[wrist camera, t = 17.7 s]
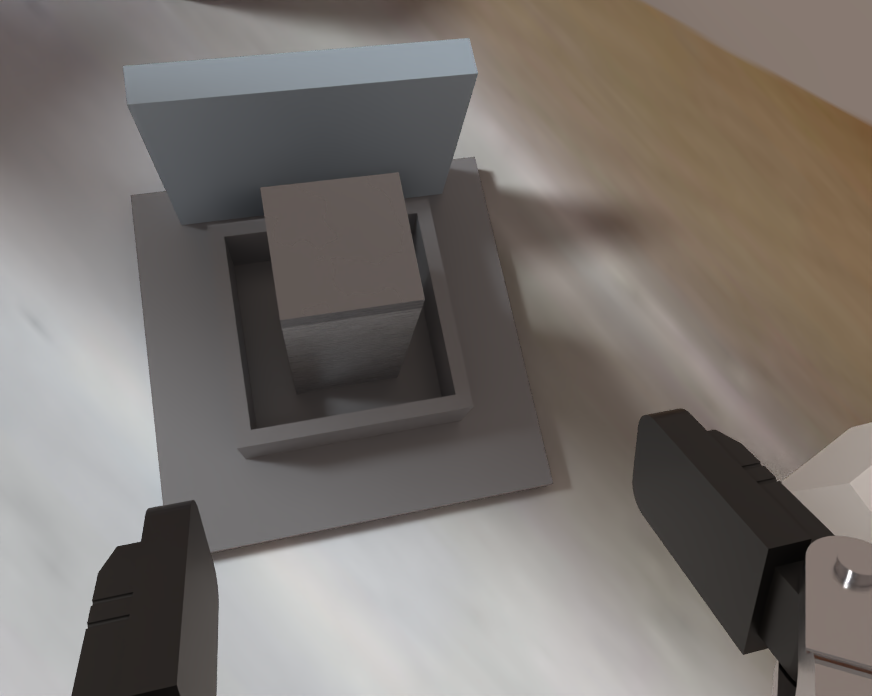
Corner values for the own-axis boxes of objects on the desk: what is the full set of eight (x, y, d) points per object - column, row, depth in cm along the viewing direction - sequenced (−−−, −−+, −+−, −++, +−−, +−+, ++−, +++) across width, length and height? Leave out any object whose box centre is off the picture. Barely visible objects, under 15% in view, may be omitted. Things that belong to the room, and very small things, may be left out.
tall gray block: (296, 393, 31) (279, 320, 22) (281, 297, 32) (260, 187, 23) (397, 377, 32) (424, 299, 22) (379, 284, 33) (398, 172, 23)
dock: (174, 560, 29) (98, 560, 20) (136, 205, 33) (58, 64, 24) (546, 485, 32) (635, 454, 23) (471, 167, 36) (519, 28, 27)
